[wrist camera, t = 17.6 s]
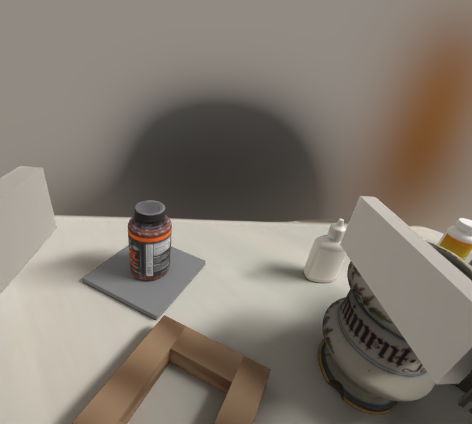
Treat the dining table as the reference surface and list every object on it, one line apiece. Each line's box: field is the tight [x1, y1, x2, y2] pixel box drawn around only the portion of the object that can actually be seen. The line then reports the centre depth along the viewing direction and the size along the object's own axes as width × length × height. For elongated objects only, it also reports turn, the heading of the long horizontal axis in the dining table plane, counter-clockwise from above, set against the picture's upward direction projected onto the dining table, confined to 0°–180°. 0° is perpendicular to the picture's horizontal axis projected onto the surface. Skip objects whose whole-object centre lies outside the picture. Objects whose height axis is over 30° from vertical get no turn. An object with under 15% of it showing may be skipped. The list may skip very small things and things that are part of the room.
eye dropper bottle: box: [304, 219, 347, 283], centre depth 45 cm, size 4×6×12 cm
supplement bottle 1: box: [128, 200, 172, 281], centre depth 39 cm, size 6×6×11 cm
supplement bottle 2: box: [437, 218, 472, 260], centre depth 57 cm, size 5×5×10 cm
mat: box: [83, 246, 206, 320], centre depth 42 cm, size 13×13×1 cm
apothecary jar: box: [318, 240, 472, 414], centre depth 29 cm, size 12×12×18 cm
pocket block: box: [72, 315, 270, 424], centre depth 26 cm, size 14×14×2 cm
